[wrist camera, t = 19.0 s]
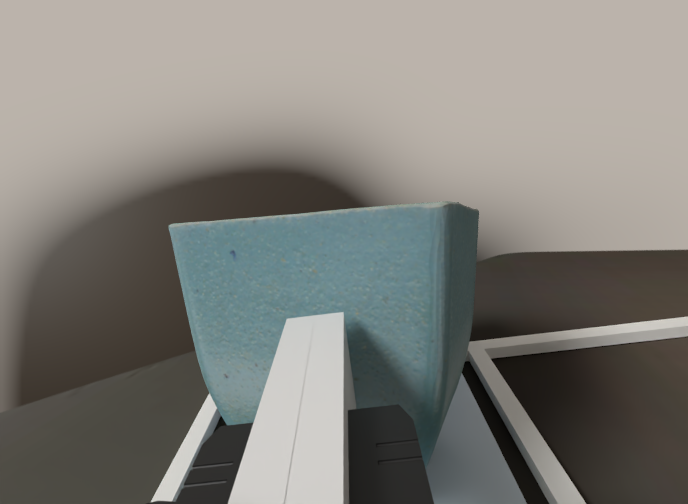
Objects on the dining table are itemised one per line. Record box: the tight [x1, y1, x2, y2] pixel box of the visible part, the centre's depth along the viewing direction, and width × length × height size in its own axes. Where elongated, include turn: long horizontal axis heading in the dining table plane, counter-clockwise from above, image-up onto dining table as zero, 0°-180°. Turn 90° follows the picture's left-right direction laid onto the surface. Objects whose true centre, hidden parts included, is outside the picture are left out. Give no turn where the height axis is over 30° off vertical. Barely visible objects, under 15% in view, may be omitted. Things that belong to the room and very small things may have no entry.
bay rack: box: [151, 317, 688, 504], centre depth 17 cm, size 28×17×5 cm, turn 90°
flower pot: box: [169, 202, 479, 469], centre depth 16 cm, size 9×9×9 cm
